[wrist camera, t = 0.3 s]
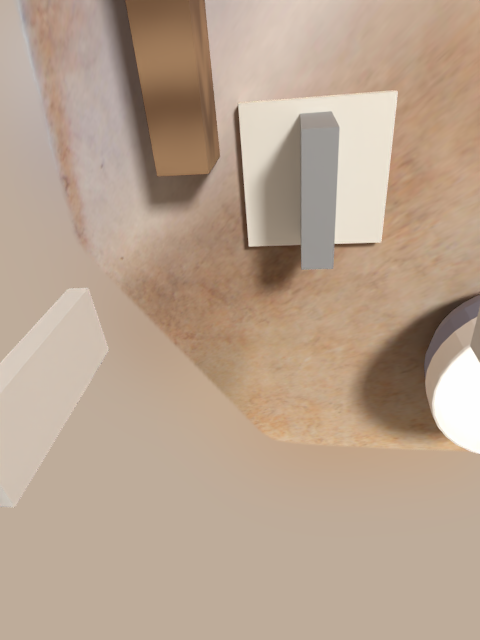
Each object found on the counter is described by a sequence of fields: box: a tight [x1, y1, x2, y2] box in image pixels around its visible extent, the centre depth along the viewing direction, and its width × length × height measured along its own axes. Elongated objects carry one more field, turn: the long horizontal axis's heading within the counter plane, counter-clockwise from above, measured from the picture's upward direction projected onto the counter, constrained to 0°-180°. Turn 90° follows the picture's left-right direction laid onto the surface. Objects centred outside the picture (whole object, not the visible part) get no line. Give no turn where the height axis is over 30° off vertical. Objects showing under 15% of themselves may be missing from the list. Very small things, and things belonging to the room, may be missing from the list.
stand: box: [238, 90, 398, 270], centre depth 33 cm, size 12×12×8 cm
